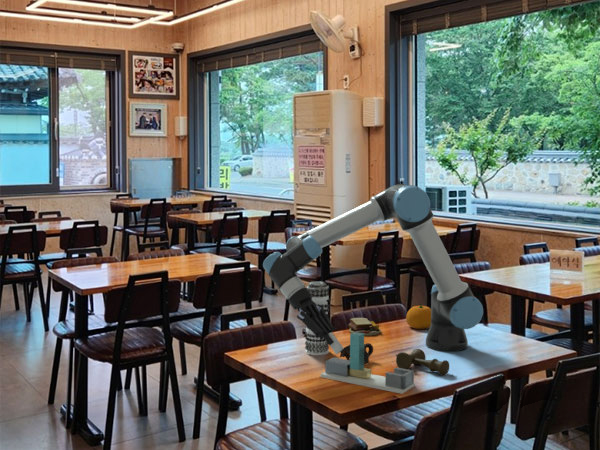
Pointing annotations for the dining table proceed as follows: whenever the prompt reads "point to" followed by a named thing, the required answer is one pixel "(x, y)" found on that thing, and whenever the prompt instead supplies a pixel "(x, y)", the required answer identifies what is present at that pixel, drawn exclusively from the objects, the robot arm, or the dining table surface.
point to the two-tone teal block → (357, 357)
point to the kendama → (421, 362)
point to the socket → (399, 378)
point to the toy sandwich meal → (364, 326)
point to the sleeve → (337, 366)
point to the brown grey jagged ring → (346, 352)
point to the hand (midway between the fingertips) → (339, 351)
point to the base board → (367, 382)
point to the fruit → (419, 317)
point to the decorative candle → (322, 298)
